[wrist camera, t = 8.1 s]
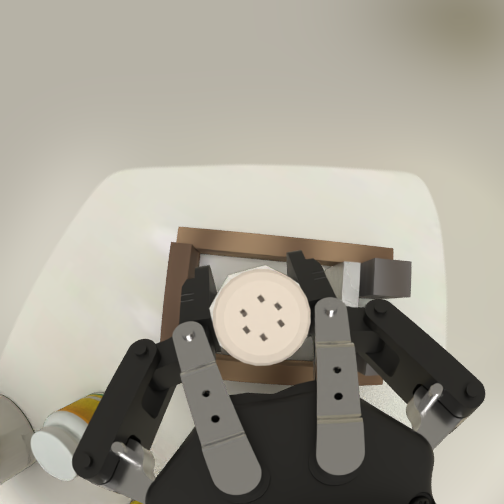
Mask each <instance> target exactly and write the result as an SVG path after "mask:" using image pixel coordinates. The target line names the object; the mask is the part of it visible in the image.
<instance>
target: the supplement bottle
mask: <svg viewBox="0 0 504 504" xmlns="http://www.w3.org/2000/svg"><path fill="white" fill-rule="evenodd" d="M103 395H104V393H92V394H90V395H88V396H86V397H84V398H82V399H80V400H78V401H76V402H74V403H72V404H70V405H68V406H66V407H64V408H62V409H60V410H58V411H56V412H54V413H52V414H50V415H49V416H48V417H47V419H46V420H45V422H44V426H43V428H42V429H40V430H39V431H37V432H35V433H34V434H33V436H32V438H31V449H32V452H33V454H34V456H35V458H36V460H37V462H38V463H39V464H40V465H41V467H42V468H43V469H44V470H45V471H46V472H47V473H49V474H50V475H51V476H53V477H55V478H57V479H59V480H62V481H70V480H73V479H74V478H75V477H76V476H78V475H77V474H76V472H75V471H74V469H73V466H72V457H73V455H74V452H75V450H76V448H77V446H78V444H79V442H80V440H81V438H82V436H83V434H84V432H85V430H86V428H87V426H88V424H89V422H90V420H91V418H92V416H93V414H94V412H95V410H96V408H97V406H98V404H99V402H100V400H101V399H102V397H103Z"/></svg>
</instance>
